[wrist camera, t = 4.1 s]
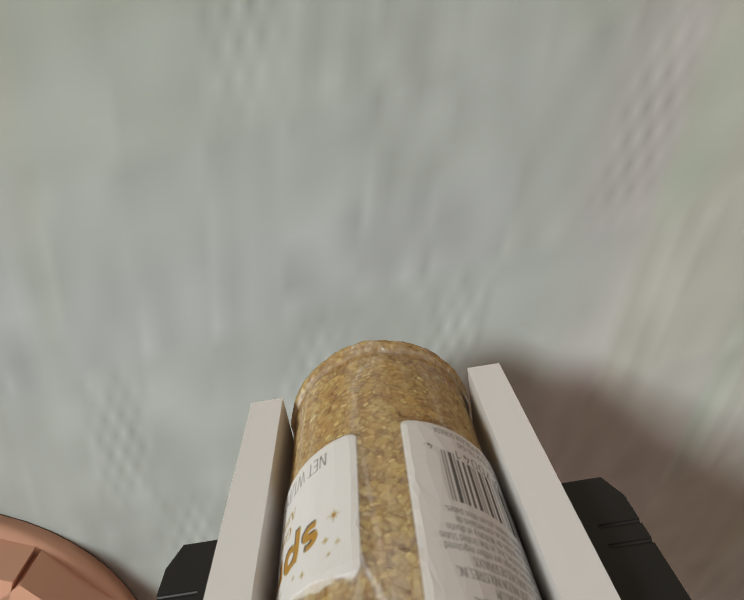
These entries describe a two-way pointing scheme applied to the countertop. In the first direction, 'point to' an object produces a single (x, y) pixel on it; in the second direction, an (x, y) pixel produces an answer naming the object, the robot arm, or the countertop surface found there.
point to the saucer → (51, 567)
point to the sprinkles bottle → (394, 487)
